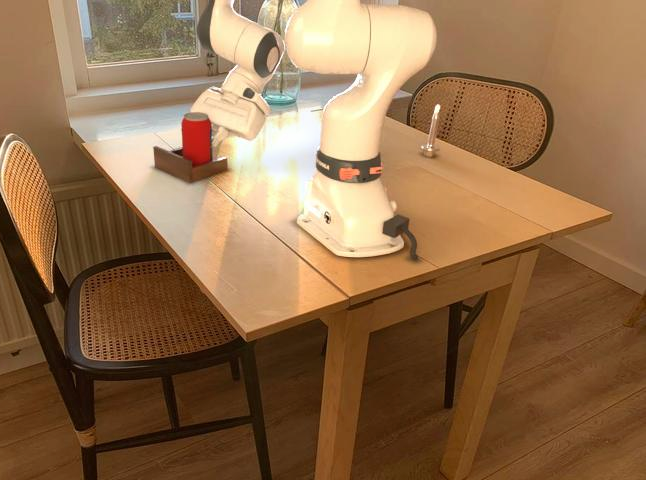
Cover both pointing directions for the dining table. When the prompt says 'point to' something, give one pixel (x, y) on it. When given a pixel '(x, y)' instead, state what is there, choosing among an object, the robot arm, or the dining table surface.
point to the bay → (186, 165)
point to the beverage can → (197, 138)
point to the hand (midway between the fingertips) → (209, 144)
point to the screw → (432, 135)
